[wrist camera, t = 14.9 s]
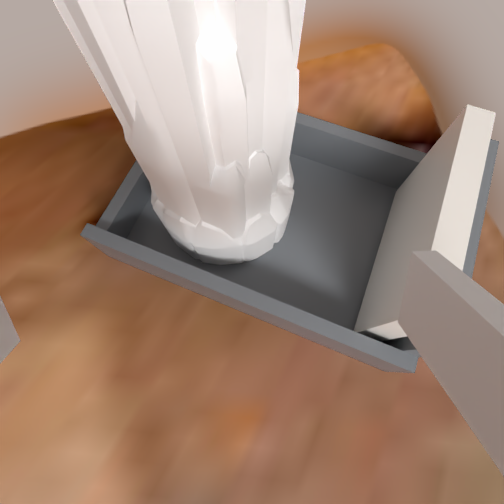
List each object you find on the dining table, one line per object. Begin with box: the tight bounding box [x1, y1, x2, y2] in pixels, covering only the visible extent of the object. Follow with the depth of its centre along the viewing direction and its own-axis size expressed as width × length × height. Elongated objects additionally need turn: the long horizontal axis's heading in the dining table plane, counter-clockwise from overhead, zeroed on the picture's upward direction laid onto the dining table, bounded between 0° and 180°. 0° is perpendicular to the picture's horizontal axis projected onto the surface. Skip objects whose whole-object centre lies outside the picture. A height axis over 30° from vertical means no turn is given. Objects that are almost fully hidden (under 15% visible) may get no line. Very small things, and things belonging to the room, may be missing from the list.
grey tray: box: [80, 112, 499, 373], centre depth 24 cm, size 24×16×9 cm, turn 68°
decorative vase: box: [52, 0, 306, 265], centre depth 16 cm, size 11×11×25 cm
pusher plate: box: [354, 105, 496, 341], centre depth 21 cm, size 2×13×10 cm, turn 157°
